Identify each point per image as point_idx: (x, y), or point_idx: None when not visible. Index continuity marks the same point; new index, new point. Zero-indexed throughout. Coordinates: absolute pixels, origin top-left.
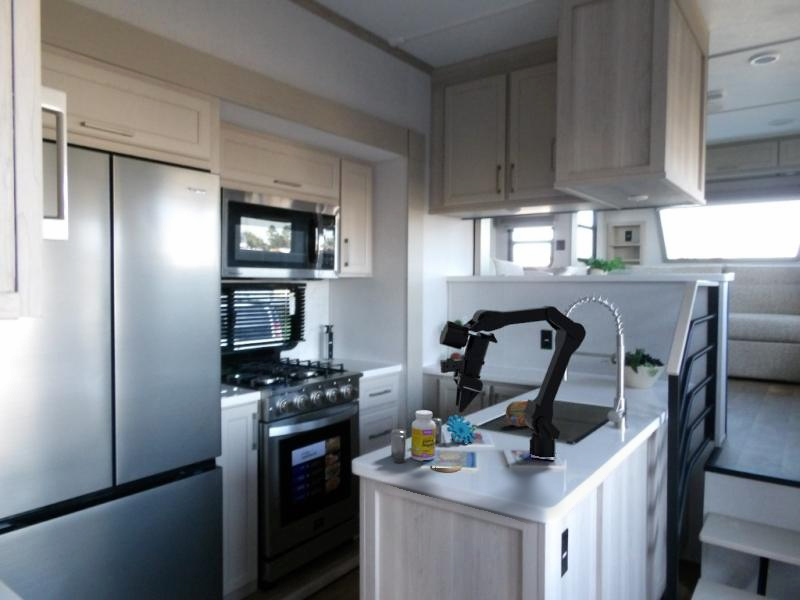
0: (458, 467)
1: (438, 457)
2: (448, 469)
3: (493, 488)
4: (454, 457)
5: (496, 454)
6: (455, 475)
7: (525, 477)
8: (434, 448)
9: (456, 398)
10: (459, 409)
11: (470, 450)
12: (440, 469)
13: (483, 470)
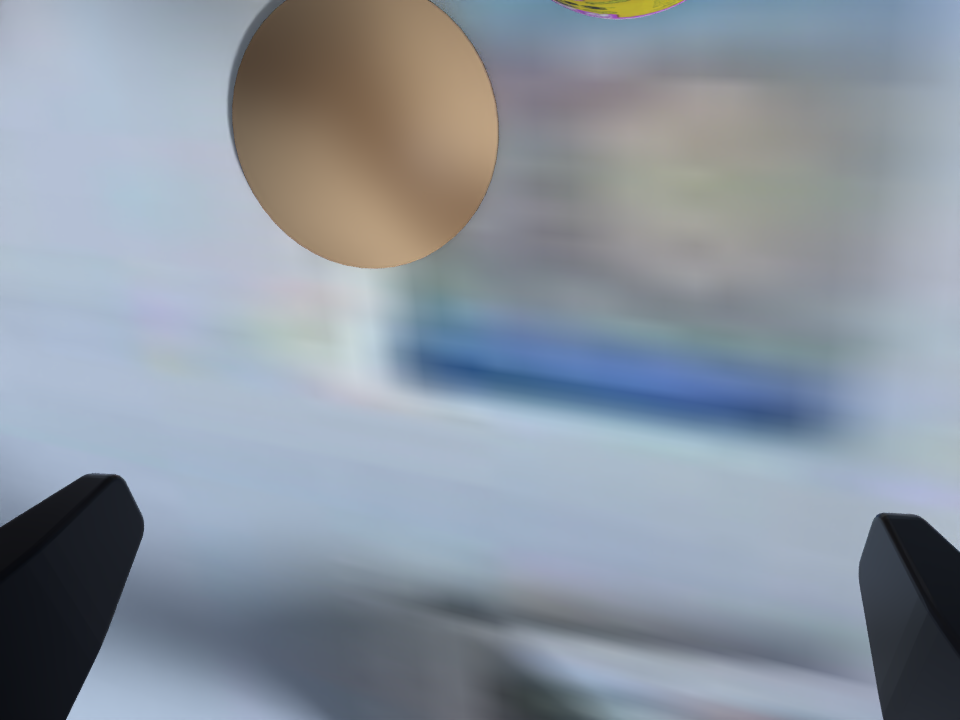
0: (339, 242)
1: (654, 63)
2: (278, 150)
3: (25, 426)
4: (655, 232)
5: (742, 602)
6: (190, 201)
7: (250, 647)
8: (566, 4)
9: (952, 654)
10: (52, 509)
11: (884, 412)
12: (265, 76)
13: (336, 427)
